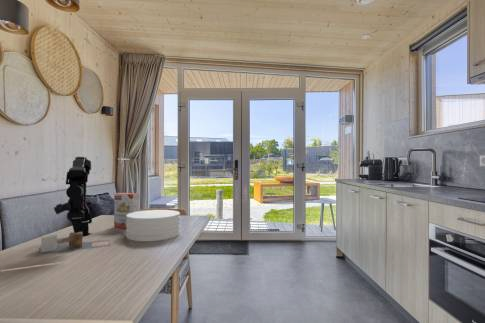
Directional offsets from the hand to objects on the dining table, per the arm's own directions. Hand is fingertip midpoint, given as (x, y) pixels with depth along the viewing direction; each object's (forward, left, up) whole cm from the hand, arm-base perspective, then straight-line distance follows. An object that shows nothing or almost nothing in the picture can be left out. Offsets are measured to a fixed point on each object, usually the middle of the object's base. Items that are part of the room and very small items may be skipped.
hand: (76, 230), depth 125 cm
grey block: (-6, -8, -7) cm, 12 cm away
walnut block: (0, 0, -7) cm, 7 cm away
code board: (0, 0, -8) cm, 8 cm away
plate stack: (+16, +34, -8) cm, 38 cm away
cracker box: (-11, +42, -8) cm, 44 cm away
